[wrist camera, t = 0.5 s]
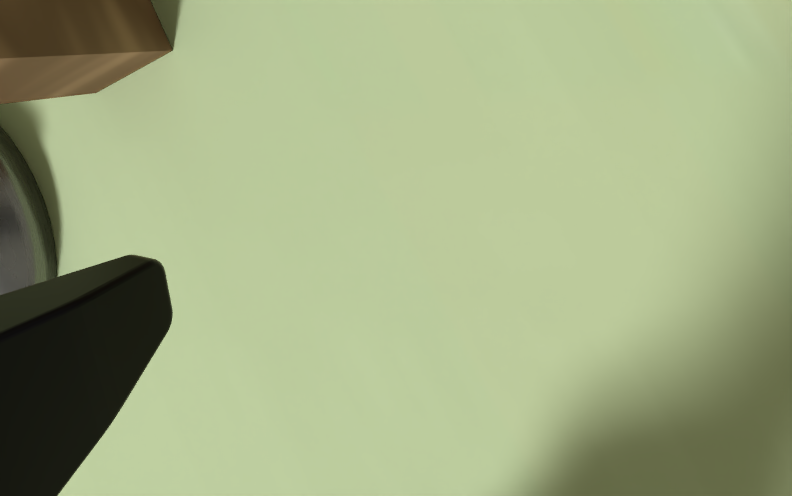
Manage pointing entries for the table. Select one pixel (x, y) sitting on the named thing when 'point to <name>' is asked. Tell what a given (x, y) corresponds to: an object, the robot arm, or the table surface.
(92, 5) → the brown wooden square peg
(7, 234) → the rosette socket
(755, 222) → the table surface
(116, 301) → the robot arm
